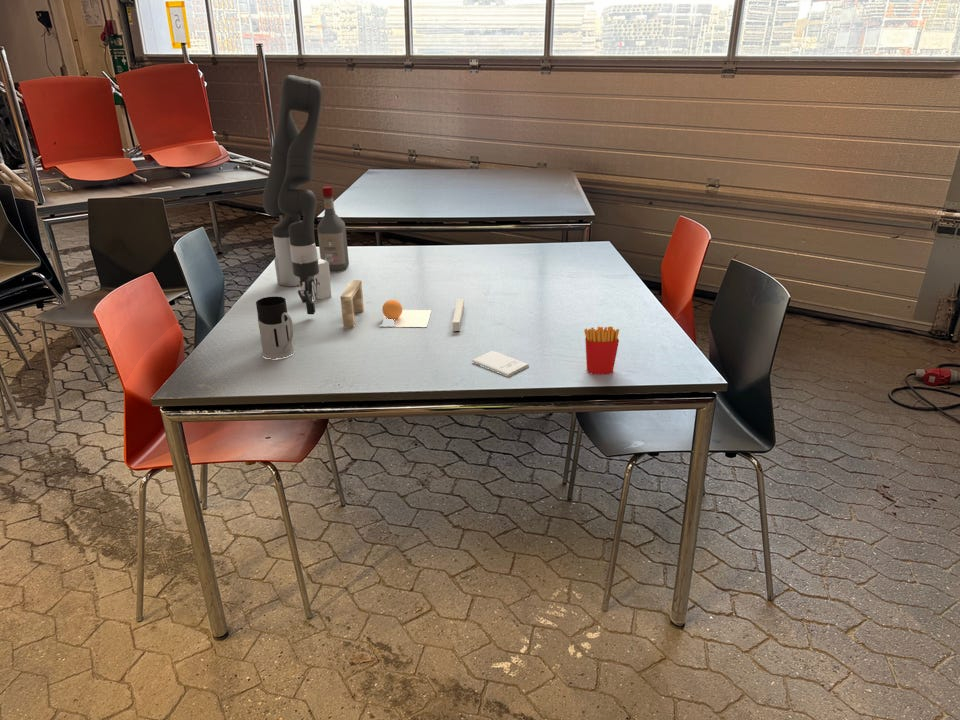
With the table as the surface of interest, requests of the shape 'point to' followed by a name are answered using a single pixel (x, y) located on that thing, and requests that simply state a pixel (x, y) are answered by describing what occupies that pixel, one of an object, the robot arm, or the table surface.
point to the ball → (392, 309)
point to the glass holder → (275, 327)
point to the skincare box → (323, 280)
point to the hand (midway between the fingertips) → (311, 313)
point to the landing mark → (413, 318)
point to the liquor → (332, 235)
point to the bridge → (351, 302)
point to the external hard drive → (500, 363)
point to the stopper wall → (458, 315)
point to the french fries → (601, 349)
